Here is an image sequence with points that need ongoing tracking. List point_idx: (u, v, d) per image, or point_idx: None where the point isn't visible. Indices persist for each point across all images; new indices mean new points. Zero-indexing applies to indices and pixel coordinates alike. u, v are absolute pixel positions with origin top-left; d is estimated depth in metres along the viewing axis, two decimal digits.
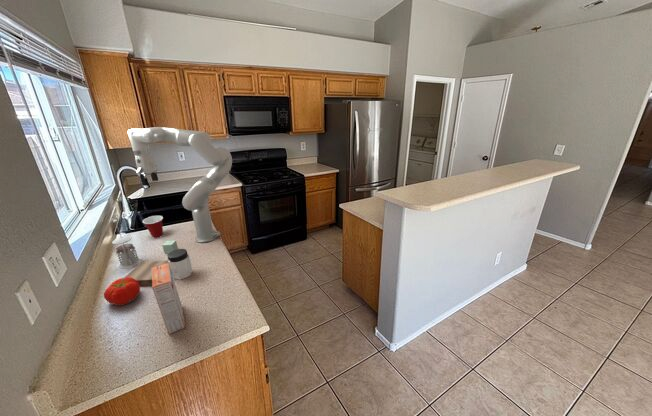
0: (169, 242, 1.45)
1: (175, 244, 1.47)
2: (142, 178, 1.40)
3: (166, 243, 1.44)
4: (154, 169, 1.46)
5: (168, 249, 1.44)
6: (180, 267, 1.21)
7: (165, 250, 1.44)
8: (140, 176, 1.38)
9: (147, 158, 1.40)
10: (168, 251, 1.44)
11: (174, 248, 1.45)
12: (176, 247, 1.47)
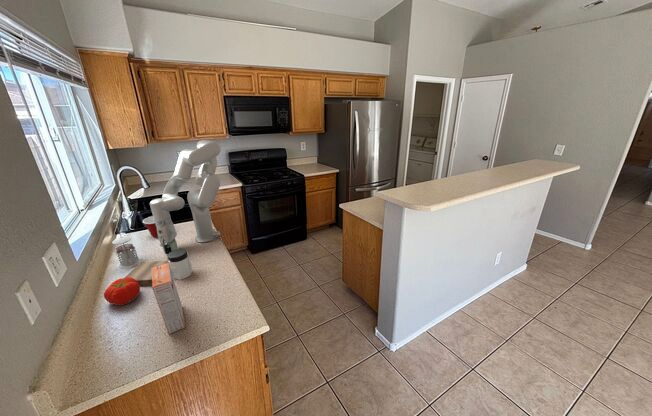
0: None
1: (175, 244, 1.47)
2: (166, 247, 1.41)
3: (166, 243, 1.44)
4: (174, 235, 1.46)
5: None
6: (180, 267, 1.21)
7: None
8: (164, 246, 1.40)
9: (168, 227, 1.40)
10: None
11: (174, 248, 1.45)
12: (176, 247, 1.47)
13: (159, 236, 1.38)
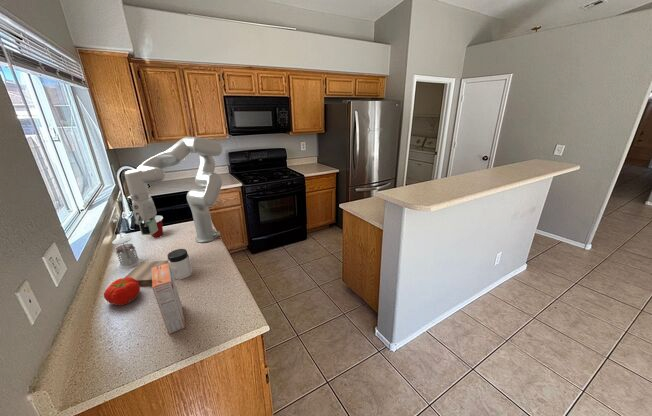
0: (147, 221, 1.27)
1: (154, 224, 1.29)
2: (142, 226, 1.24)
3: (143, 222, 1.26)
4: (154, 214, 1.28)
5: None
6: (180, 267, 1.21)
7: None
8: (140, 225, 1.22)
9: (145, 203, 1.22)
10: None
11: (152, 228, 1.27)
12: (155, 227, 1.30)
13: (135, 212, 1.20)
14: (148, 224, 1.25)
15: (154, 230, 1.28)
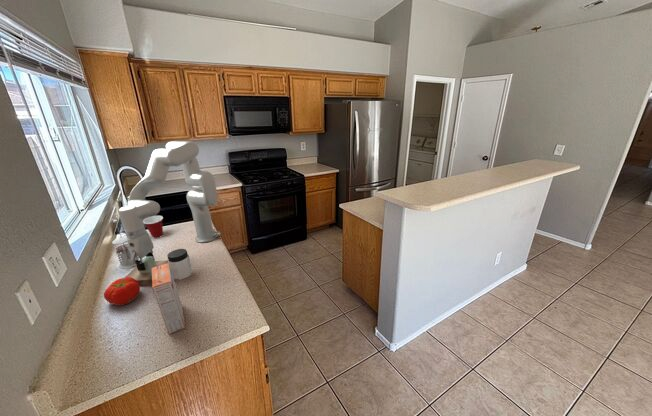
0: (145, 259, 1.24)
1: (152, 261, 1.25)
2: (138, 263, 1.18)
3: None
4: (150, 248, 1.24)
5: None
6: (180, 267, 1.21)
7: None
8: (135, 262, 1.16)
9: (141, 239, 1.18)
10: None
11: (150, 266, 1.23)
12: (153, 264, 1.26)
13: (130, 250, 1.16)
14: (146, 263, 1.21)
15: (152, 267, 1.25)
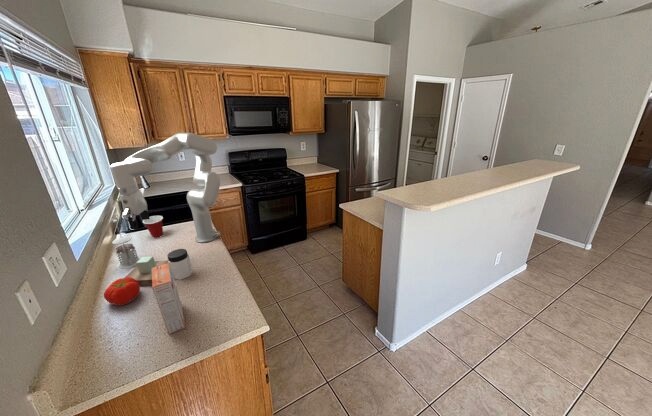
0: (145, 259, 1.24)
1: (152, 261, 1.25)
2: (130, 221, 1.18)
3: (141, 260, 1.23)
4: (144, 207, 1.24)
5: (143, 267, 1.22)
6: (180, 267, 1.21)
7: (140, 268, 1.22)
8: (128, 219, 1.16)
9: (135, 197, 1.18)
10: (143, 269, 1.22)
11: (150, 266, 1.23)
12: (153, 264, 1.26)
13: (124, 207, 1.16)
14: (146, 263, 1.21)
15: (152, 267, 1.25)
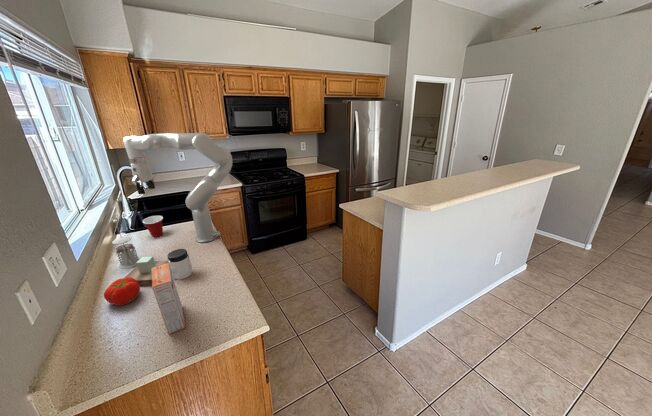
0: (145, 259, 1.24)
1: (152, 261, 1.25)
2: (138, 187, 1.37)
3: (141, 260, 1.23)
4: (150, 177, 1.43)
5: (143, 267, 1.22)
6: (180, 267, 1.21)
7: (140, 268, 1.22)
8: (136, 185, 1.35)
9: (143, 166, 1.37)
10: (143, 269, 1.22)
11: (150, 266, 1.23)
12: (153, 264, 1.26)
13: (133, 174, 1.35)
14: (146, 263, 1.21)
15: (152, 267, 1.25)
